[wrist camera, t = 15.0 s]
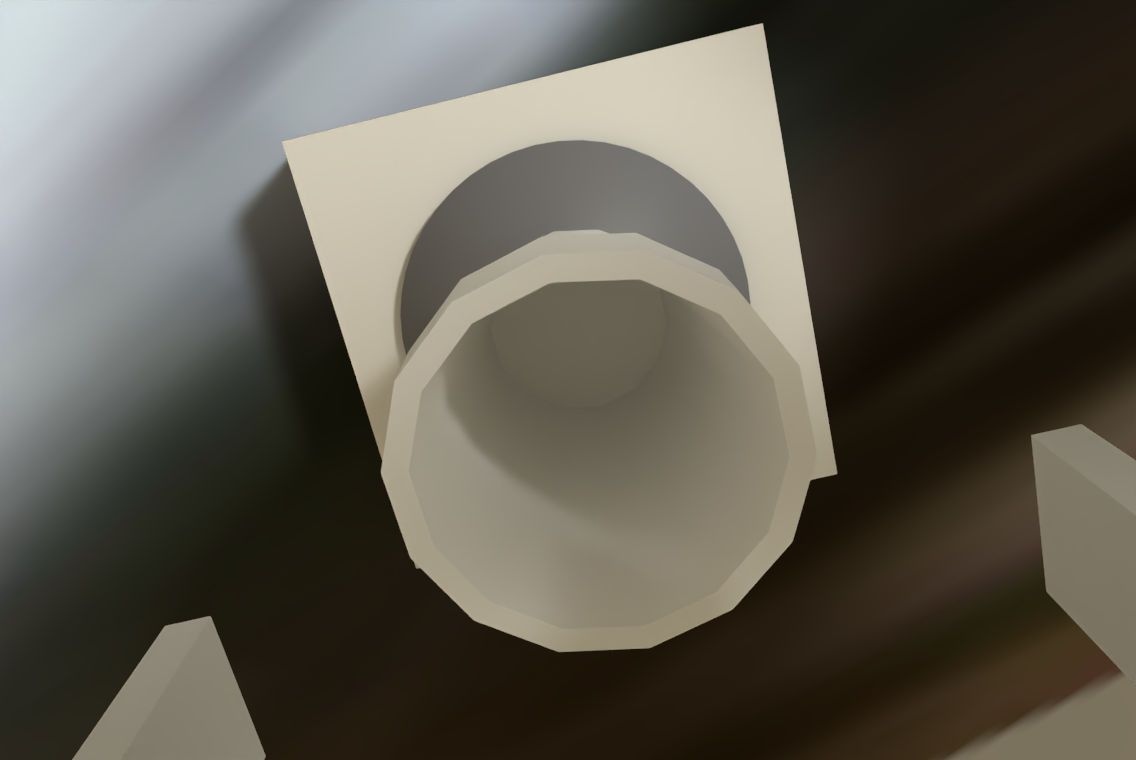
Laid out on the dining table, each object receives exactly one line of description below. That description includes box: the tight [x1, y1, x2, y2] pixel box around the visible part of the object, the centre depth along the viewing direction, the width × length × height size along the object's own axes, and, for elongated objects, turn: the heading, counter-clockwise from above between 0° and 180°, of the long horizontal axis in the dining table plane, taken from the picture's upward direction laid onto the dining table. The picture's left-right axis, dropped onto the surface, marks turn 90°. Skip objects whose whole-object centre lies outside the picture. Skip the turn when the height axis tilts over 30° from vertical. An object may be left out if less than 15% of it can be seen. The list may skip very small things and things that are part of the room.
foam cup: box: [381, 230, 817, 652], centre depth 28 cm, size 10×9×13 cm
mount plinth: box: [282, 23, 837, 569], centre depth 36 cm, size 16×16×4 cm
